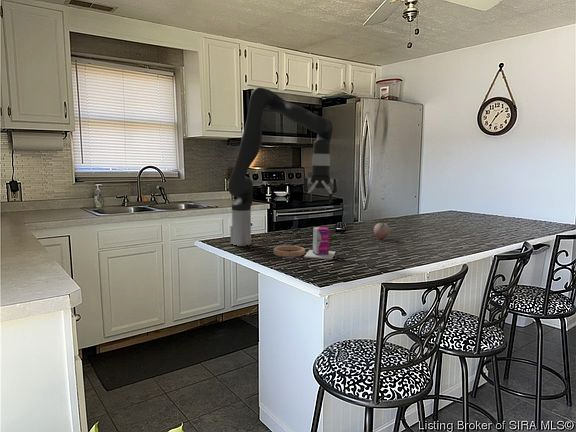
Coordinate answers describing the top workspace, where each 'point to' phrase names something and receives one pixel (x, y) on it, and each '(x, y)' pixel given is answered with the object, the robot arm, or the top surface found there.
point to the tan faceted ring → (281, 252)
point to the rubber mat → (312, 255)
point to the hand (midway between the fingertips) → (320, 202)
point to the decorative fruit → (381, 230)
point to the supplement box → (320, 241)
